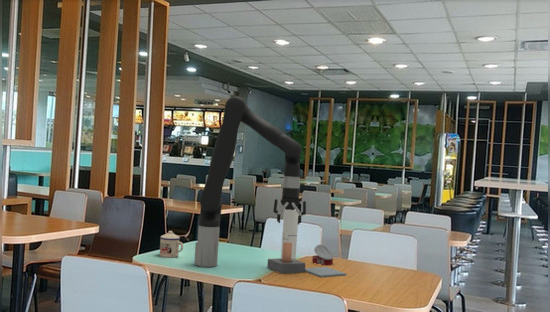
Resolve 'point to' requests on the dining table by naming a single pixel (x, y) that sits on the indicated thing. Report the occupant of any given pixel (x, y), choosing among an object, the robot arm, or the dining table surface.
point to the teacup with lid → (170, 245)
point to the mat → (324, 272)
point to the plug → (287, 252)
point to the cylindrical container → (290, 230)
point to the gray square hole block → (286, 266)
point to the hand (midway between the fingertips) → (288, 223)
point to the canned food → (322, 256)
